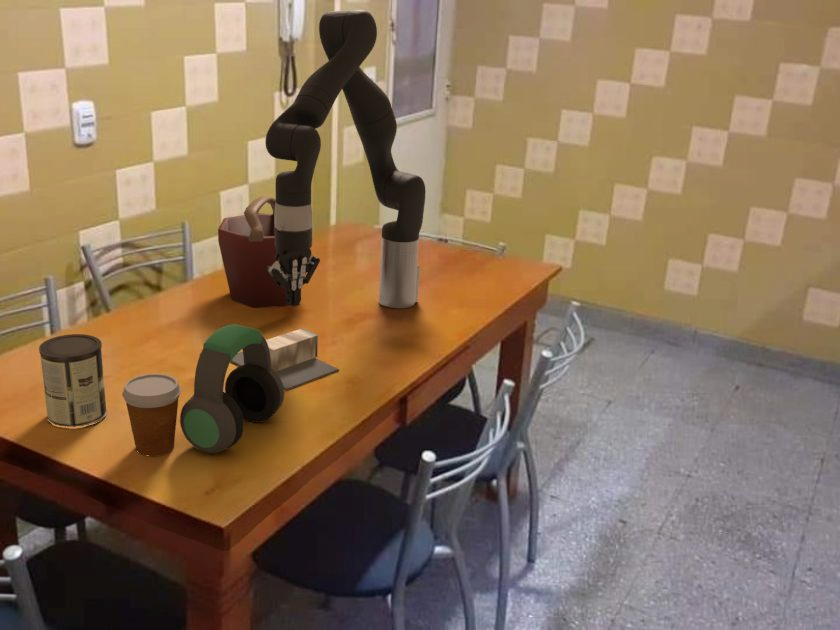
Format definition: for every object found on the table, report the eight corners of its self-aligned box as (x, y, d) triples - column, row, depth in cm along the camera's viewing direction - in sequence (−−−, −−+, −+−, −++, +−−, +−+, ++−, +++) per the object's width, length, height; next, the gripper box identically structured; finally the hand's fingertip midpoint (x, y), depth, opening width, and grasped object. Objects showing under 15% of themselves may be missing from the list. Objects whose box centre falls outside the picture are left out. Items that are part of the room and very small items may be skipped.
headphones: (229, 465, 149) (226, 356, 142) (175, 449, 153) (170, 342, 146) (289, 418, 166) (289, 318, 159) (239, 405, 170) (237, 307, 162)
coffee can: (72, 398, 168) (66, 329, 163) (118, 409, 165) (113, 339, 160) (33, 422, 159) (25, 350, 154) (81, 434, 156) (75, 361, 151)
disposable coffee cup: (153, 467, 147) (149, 402, 143) (114, 449, 152) (109, 386, 148) (195, 444, 155) (193, 382, 151) (156, 428, 159) (153, 367, 155)
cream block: (302, 328, 193) (257, 342, 184) (317, 335, 190) (273, 350, 181) (301, 349, 194) (258, 364, 186) (317, 356, 191) (273, 372, 183)
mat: (276, 342, 199) (276, 340, 198) (338, 370, 186) (338, 368, 186) (225, 358, 189) (225, 357, 189) (286, 390, 177) (286, 388, 176)
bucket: (275, 320, 211) (275, 217, 202) (196, 303, 218) (193, 203, 209) (324, 289, 232) (325, 195, 223) (250, 275, 239) (249, 183, 230)
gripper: (305, 215, 186) (305, 293, 192) (255, 226, 176) (256, 307, 183) (330, 222, 181) (329, 302, 187) (280, 234, 172) (280, 318, 178)
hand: (293, 305), depth 185 cm, fingers closed
